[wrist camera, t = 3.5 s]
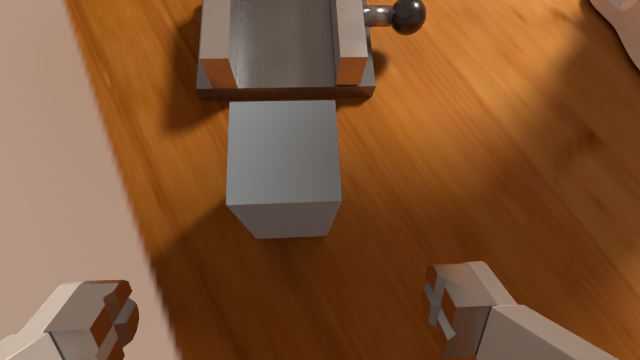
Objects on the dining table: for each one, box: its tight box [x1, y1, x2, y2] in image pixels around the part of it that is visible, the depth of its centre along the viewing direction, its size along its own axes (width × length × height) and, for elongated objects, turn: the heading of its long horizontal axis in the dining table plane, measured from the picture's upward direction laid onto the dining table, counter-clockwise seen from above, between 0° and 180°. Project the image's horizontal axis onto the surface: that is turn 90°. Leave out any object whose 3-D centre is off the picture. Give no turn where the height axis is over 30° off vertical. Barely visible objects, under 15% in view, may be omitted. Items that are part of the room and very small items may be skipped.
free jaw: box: [330, 0, 426, 85], centre depth 21 cm, size 8×6×3 cm
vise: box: [196, 0, 376, 99], centre depth 21 cm, size 8×11×4 cm
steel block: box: [226, 100, 342, 239], centre depth 16 cm, size 4×4×8 cm
